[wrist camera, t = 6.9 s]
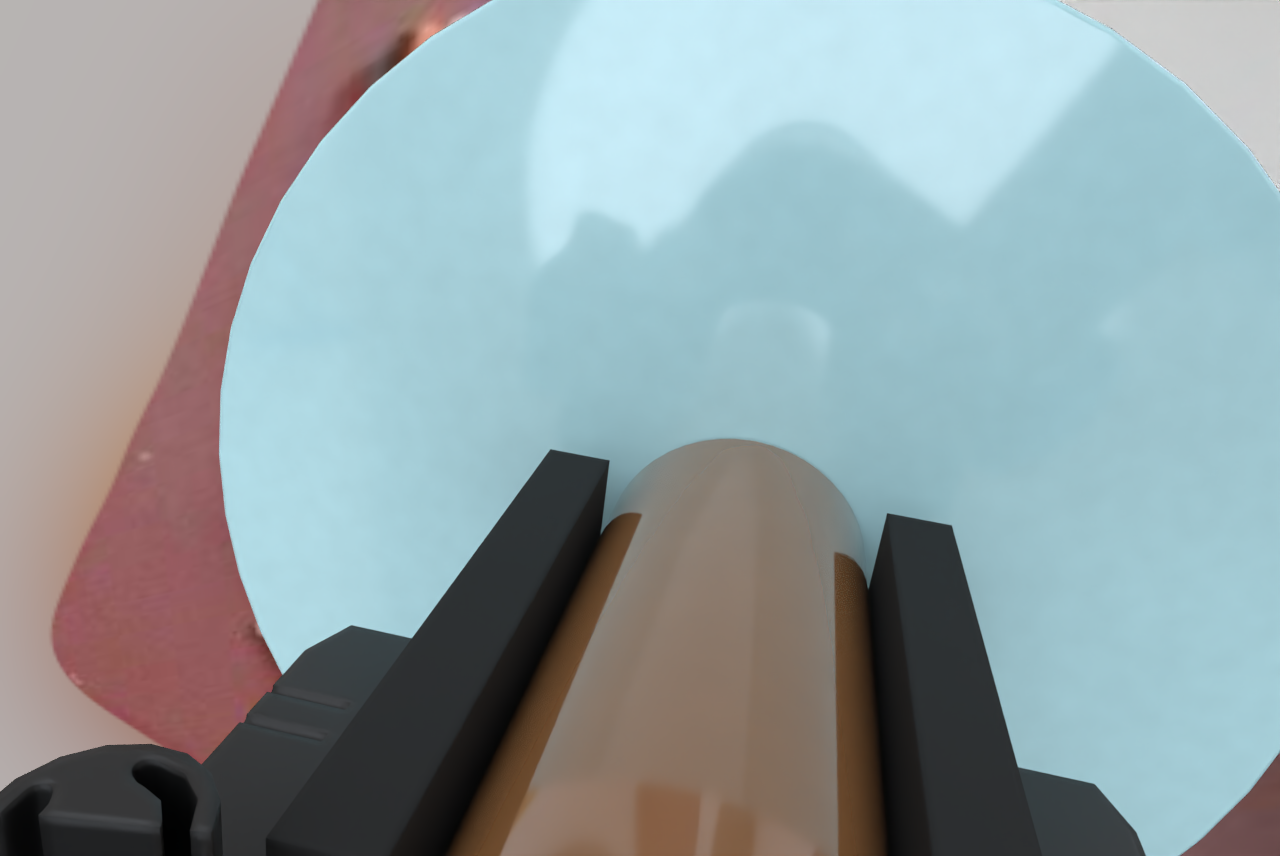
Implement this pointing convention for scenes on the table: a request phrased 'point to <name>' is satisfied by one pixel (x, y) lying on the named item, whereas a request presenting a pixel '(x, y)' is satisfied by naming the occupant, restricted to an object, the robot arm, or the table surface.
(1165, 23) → the table surface
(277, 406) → the lid
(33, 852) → the robot arm
